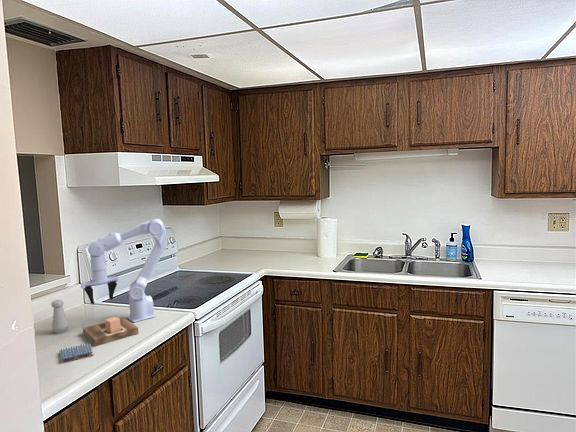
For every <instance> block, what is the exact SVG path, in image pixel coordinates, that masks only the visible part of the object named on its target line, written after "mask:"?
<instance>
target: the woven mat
mask: <svg viewBox="0 0 576 432" xmlns="http://www.w3.org/2000/svg"><path fill="white" fill-rule="evenodd" d="M58 352H59V357H60V359H59V360H60V363H61V364H65V363H68V362H73V361H76V360H81V359H85V358H88V357H93V356H94V355H95V354H94V351H93V348H92V346H91V343H85V344H79V345H75V346H70V347H68V348H67V347H65V348H63V349H62V348H60V350H59V351H58Z"/></svg>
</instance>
